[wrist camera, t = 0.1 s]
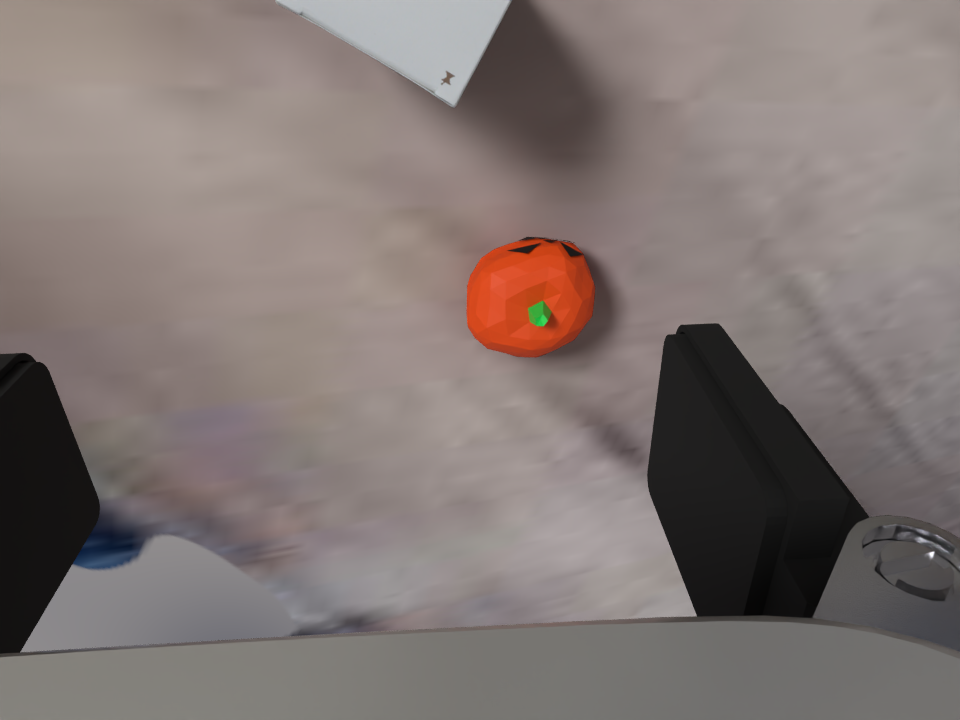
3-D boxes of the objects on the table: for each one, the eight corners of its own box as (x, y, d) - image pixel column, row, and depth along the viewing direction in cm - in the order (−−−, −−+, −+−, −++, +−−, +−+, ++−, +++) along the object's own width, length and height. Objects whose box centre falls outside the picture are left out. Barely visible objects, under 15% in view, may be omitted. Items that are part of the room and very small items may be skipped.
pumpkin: (444, 264, 44) (438, 297, 38) (562, 208, 42) (575, 233, 36) (493, 359, 46) (495, 404, 40) (606, 309, 45) (625, 348, 39)
